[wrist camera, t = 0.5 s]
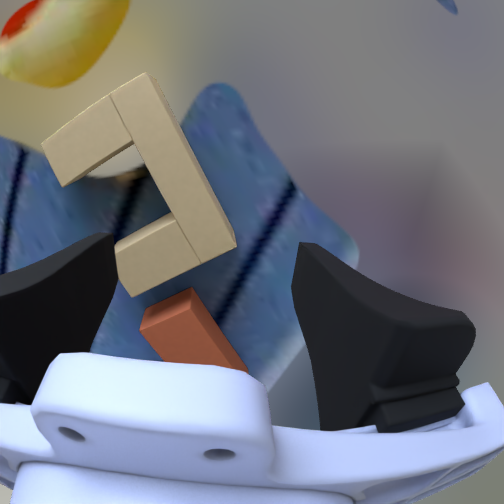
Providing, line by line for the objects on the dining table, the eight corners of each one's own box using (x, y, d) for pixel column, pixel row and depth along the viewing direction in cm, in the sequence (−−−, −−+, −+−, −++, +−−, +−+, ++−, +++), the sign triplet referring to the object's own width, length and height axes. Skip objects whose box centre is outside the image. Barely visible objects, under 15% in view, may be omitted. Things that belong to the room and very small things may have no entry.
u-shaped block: (140, 277, 22) (131, 298, 20) (60, 140, 18) (39, 144, 15) (234, 230, 22) (237, 247, 19) (155, 78, 17) (146, 71, 14)
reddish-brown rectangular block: (247, 368, 27) (251, 392, 25) (206, 384, 28) (207, 407, 25) (192, 286, 23) (190, 308, 21) (145, 308, 24) (138, 330, 21)
